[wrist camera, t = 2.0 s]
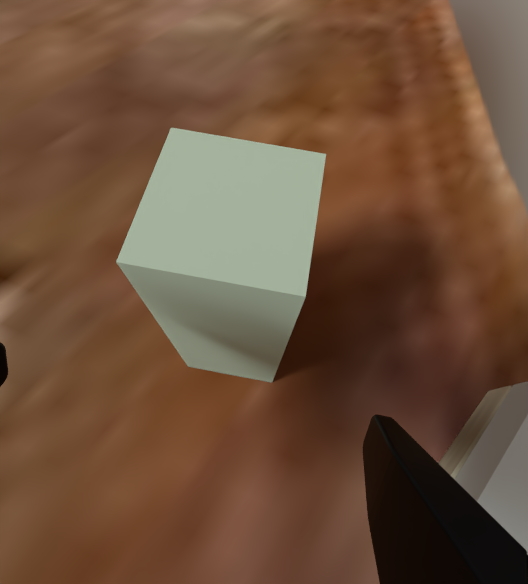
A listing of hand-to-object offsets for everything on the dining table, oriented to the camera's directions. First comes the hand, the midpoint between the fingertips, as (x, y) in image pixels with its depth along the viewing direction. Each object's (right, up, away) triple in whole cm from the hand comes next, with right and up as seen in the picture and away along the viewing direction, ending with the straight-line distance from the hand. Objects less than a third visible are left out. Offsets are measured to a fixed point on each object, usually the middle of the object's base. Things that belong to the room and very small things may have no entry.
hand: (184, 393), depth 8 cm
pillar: (0, 0, +13) cm, 13 cm away
